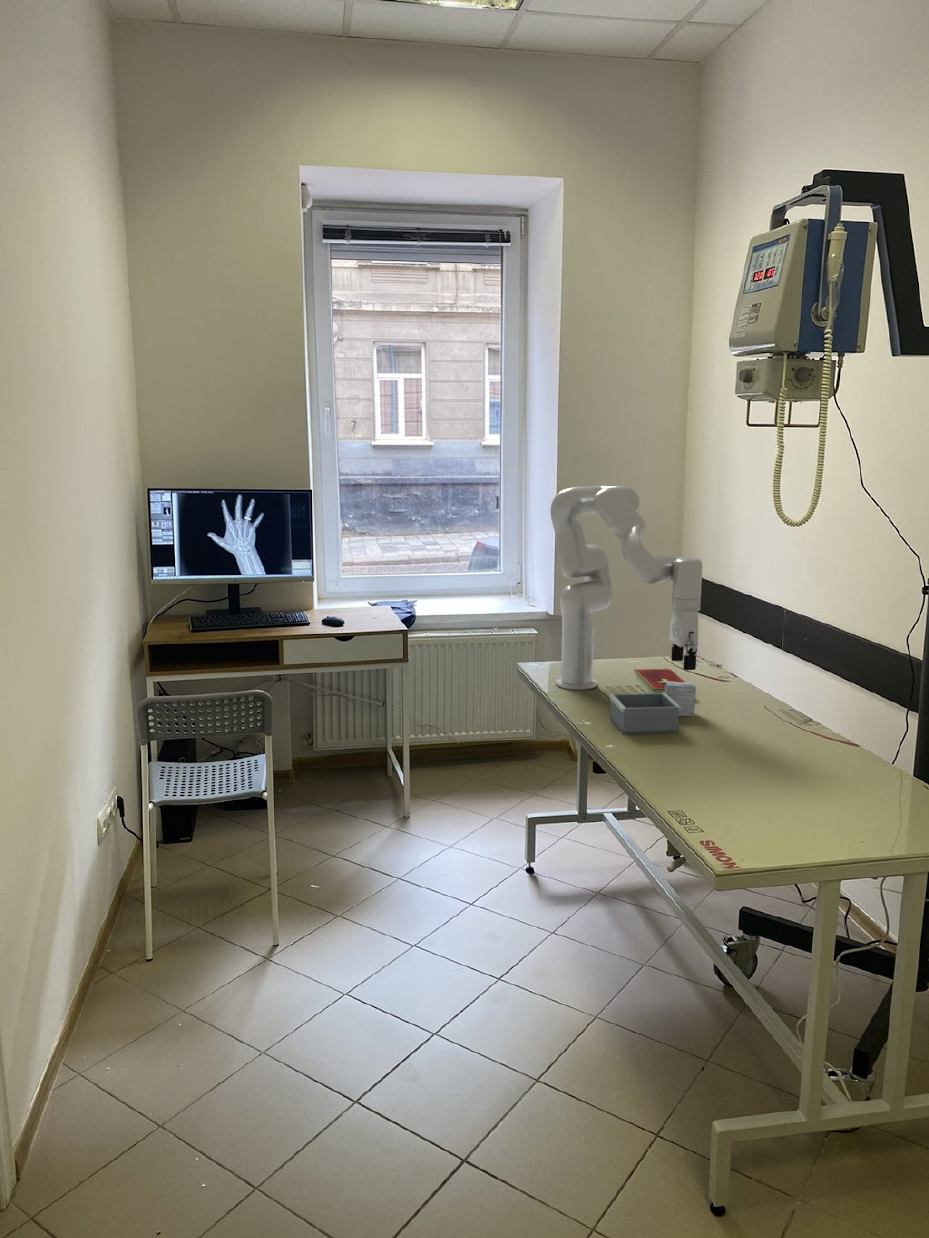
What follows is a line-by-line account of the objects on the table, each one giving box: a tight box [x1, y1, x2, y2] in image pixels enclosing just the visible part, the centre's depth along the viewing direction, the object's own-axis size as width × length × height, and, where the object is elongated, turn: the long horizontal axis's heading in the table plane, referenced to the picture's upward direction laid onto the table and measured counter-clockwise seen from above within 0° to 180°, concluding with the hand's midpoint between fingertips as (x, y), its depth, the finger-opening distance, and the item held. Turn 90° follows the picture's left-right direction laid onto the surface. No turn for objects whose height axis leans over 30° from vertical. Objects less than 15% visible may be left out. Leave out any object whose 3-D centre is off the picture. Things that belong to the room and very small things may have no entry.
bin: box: [608, 693, 681, 735], centre depth 242 cm, size 13×16×7 cm
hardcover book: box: [633, 668, 685, 694], centre depth 275 cm, size 12×21×4 cm, turn 5°
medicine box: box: [665, 681, 697, 717], centre depth 252 cm, size 8×4×9 cm, turn 84°
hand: (683, 665), depth 250 cm, fingers open, 9 cm apart
